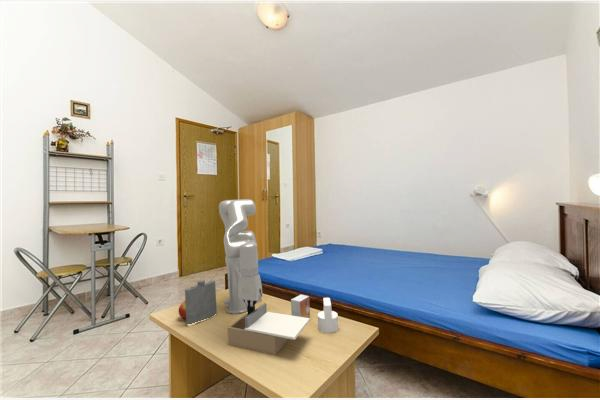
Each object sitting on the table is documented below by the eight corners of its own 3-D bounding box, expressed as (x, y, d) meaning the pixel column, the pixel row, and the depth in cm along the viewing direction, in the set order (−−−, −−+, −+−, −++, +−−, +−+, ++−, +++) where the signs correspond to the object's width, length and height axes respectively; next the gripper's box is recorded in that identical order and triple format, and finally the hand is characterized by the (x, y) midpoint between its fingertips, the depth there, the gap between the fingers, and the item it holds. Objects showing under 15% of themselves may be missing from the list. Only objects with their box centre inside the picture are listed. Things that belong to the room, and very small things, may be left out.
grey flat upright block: (214, 312, 140) (212, 275, 139) (218, 314, 137) (217, 276, 137) (185, 325, 127) (183, 284, 127) (189, 327, 125) (187, 285, 125)
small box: (300, 323, 124) (299, 301, 124) (291, 320, 127) (290, 299, 127) (310, 317, 130) (309, 296, 130) (301, 314, 133) (300, 293, 133)
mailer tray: (228, 344, 109) (227, 327, 109) (250, 326, 124) (249, 311, 123) (275, 354, 100) (274, 336, 100) (292, 333, 115) (292, 318, 115)
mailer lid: (244, 330, 105) (244, 318, 105) (265, 313, 120) (264, 302, 120) (294, 339, 97) (294, 326, 97) (310, 320, 112) (309, 308, 111)
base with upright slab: (317, 323, 124) (316, 297, 124) (337, 322, 123) (336, 297, 123) (318, 333, 115) (317, 305, 115) (339, 332, 114) (338, 305, 114)
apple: (197, 318, 134) (196, 299, 134) (180, 323, 129) (179, 303, 129) (194, 313, 141) (193, 294, 140) (177, 317, 136) (176, 298, 136)
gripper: (229, 273, 113) (231, 315, 113) (259, 275, 107) (261, 320, 107) (240, 268, 120) (242, 308, 120) (268, 270, 114) (270, 313, 114)
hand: (251, 314), depth 113 cm, fingers closed
